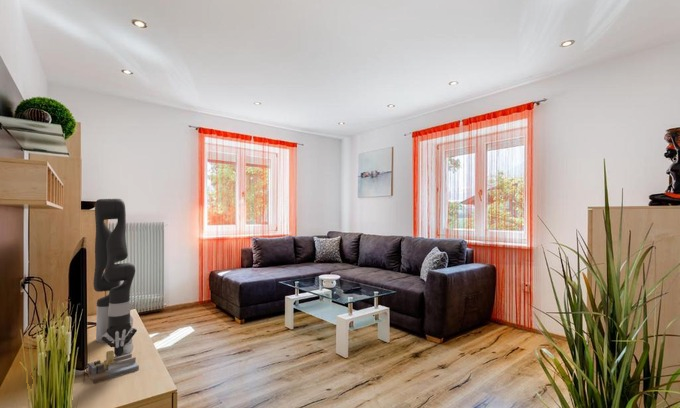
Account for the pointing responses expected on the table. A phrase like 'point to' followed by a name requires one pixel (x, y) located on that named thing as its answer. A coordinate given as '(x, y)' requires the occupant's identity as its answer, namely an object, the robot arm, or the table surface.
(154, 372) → the table surface
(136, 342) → the table surface
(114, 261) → the robot arm
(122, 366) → the lock board
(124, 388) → the table surface
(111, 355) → the bolt
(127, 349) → the silver threaded hollow container
